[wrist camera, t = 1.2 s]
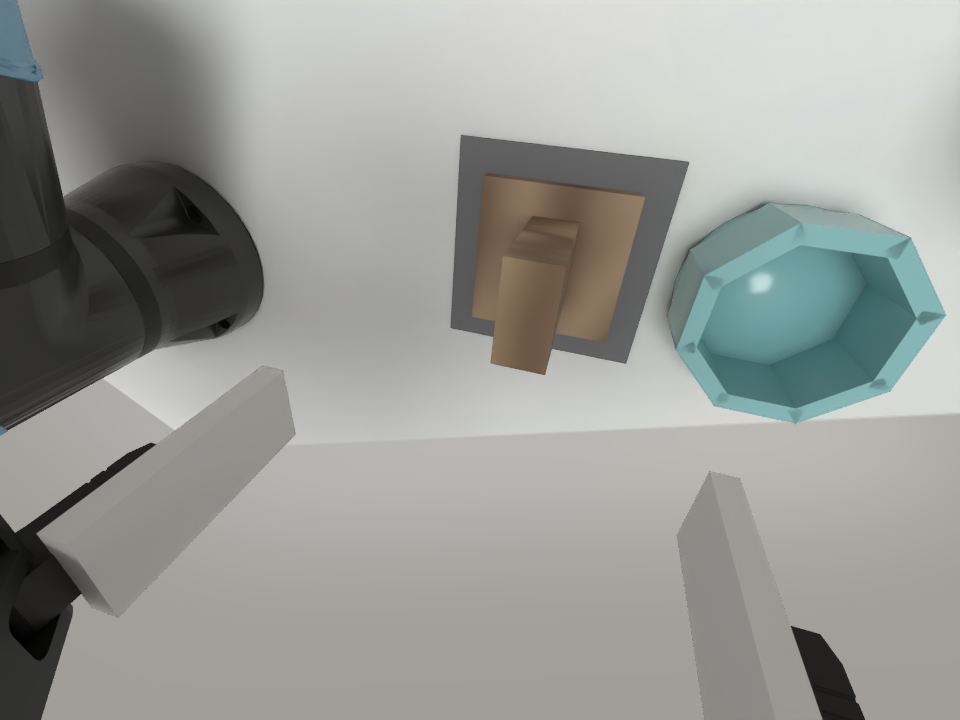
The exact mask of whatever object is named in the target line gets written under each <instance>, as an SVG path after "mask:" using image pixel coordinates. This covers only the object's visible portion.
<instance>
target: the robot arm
mask: <svg viewBox="0 0 960 720" xmlns="http://www.w3.org/2000/svg"><path fill="white" fill-rule="evenodd" d="M41 79H43V75H42V70H41V67H40V65H39V64H38V63H37V62H36V60H35V59H34V58H33V56H32V52H31V49H30V45H29V42H28V38H27V34H26V31H25V27H24V24H23V20H22V16H21V13H20V9H19V6H18V2H17V0H0V435H2V434H4V433H5V432H7V431H8V430H9V429H11V428H13V427H15V426H17V425H18V424H20V423H22V422H24V421H26V420H27V419H29V418H31V417H33V416H35V415H36V414H38V413H40V412H42V411H44V410H46V409H47V408H49V407H51V406H53V405H55V404H56V403H58V402H60V401H62V400H64V399H65V398H67V397H69V396H71V395H73V394H75V393H76V392H78V391H80V390H82V389H83V388H85V387H87V386H89V385H90V384H93V383H94V382H96V381H98V380H100V379H102V378H104V377H105V376H107V375H109V374H111V373H113V372H114V371H116V370H118V369H120V368H122V367H123V366H125V365H127V364H129V363H131V362H132V361H134V360H136V359H138V358H140V357H142V356H143V355H145V354H147V353H149V352H151V351H153V350H155V349H159V348H165V347H170V346H176V345H181V344H187V343H192V342H198V341H203V340H209V339H214V338H218V337H221V336H224V335H226V334H228V333H230V332H232V331H233V330H235V329H237V328H239V327H240V326H242V325H244V324H245V323H247V322H248V321H249V320H250V319H251V318H252V317H253V316H254V314H255V313H256V311H257V309H258V307H259V304H260V301H261V297H262V287H263V283H262V272H261V267H260V262H259V259H258V255H257V252H256V250H255V247H254V245H253V242H252V240H251V238H250V236H249V234H248V232H247V230H246V229H245V227H244V225H243V224H242V222H241V221H240V219H239V218H238V216H237V215H236V214H235V212H234V211H233V210H232V208H231V207H230V206H229V205H228V204H227V202H226V201H225V200H224V199H223V198H222V197H221V196H220V195H219V194H218V193H217V192H216V191H215V190H214V189H212V188H211V187H210V186H209V185H208V184H206V183H205V182H204V181H202V180H201V179H200V178H198V177H196V176H195V175H193V174H192V173H190V172H188V171H186V170H184V169H182V168H179V167H177V166H174V165H171V164H167V163H162V162H144V163H136V164H128V165H122V166H118V167H115V168H112V169H110V170H108V171H106V172H104V173H103V174H101V175H99V176H98V177H96V178H94V179H92V180H91V181H89V182H87V183H86V184H84V185H82V186H81V187H79V188H77V189H76V190H74V191H72V192H70V193H69V194H67V195H65V196H64V197H63V194H62V190H61V185H60V181H59V177H58V172H57V168H56V163H55V159H54V154H53V150H52V145H51V141H50V136H49V132H48V127H47V123H46V118H45V114H44V109H43V105H42V100H41V96H40V91H39V87H38V82H37V81H39V80H41ZM295 434H296V433H295V428H294V423H293V418H292V413H291V408H290V403H289V398H288V393H287V388H286V383H285V378H284V373H283V370H279V369H275V368H270V367H266V366H262V367H260V368H259V369H257V370H256V371H255V372H253V373H252V374H251V375H249V376H248V377H247V378H245V379H244V380H243V381H241V382H240V383H239V384H237V385H236V386H235V387H233V388H232V389H231V390H229V391H228V392H226V393H225V394H224V395H222V396H221V397H220V398H218V399H217V400H216V401H214V402H213V403H212V404H210V405H209V406H208V407H206V408H205V409H204V410H202V411H201V412H200V413H198V414H197V415H195V416H194V417H193V418H191V419H190V420H189V421H187V422H186V423H185V424H183V425H182V426H181V427H179V428H178V429H177V430H175V431H174V432H173V433H171V434H170V435H169V436H167V437H166V438H165V439H163V440H162V441H160V442H159V443H158V444H154V443H149V444H147V445H145V446H143V447H140V448H138V449H136V450H134V451H132V452H129V453H127V454H126V455H125V456H123V457H122V458H121V459H119V460H117V461H116V462H115V463H113V464H112V465H111V466H109V467H108V468H107V470H106V471H102V472H101V473H99V474H98V475H96V476H95V477H94V478H93V479H91V481H90V482H89V483H85V484H84V485H82V486H81V487H80V488H78V489H77V490H76V491H74V492H73V493H72V494H70V495H69V496H67V497H66V498H64V499H63V500H62V501H60V502H59V503H57V504H56V505H55V506H53V507H52V508H50V509H49V510H48V511H46V512H45V513H43V514H42V515H41V516H39V517H38V518H37V519H35V520H34V521H32V522H31V523H30V524H28V525H27V526H25V527H24V528H22V529H20V530H19V531H17V532H16V533H14V531H13V530H12V529H11V527H10V526H9V525H8V524H7V522H6V521H5V520H4V518H3V517H2V516H1V515H0V720H41V718H42V714H43V711H44V708H45V704H46V701H47V698H48V694H49V691H50V688H51V684H52V681H53V678H54V675H55V671H56V668H57V665H58V661H59V658H60V655H61V651H62V648H63V645H64V642H65V638H66V635H67V632H68V629H69V625H70V622H71V618H72V614H73V606H72V605H71V604H70V603H71V602H73V601H74V600H75V599H76V598H77V597H78V596H79V595H80V594H82V595H83V597H84V598H85V599H86V601H87V602H88V603H89V605H90V606H91V607H92V608H94V609H96V610H99V611H102V612H104V613H107V614H109V615H112V616H115V617H117V618H119V617H120V616H121V615H122V613H123V612H124V611H125V610H126V609H127V608H128V607H129V606H130V605H131V604H132V603H133V602H134V601H135V600H136V599H137V598H138V597H139V596H140V595H141V594H142V593H143V592H144V591H145V590H146V589H147V587H148V586H150V584H151V583H152V582H153V581H154V580H155V579H156V578H157V577H158V576H159V575H160V574H161V573H162V572H163V571H164V570H165V569H166V568H167V567H168V566H169V565H170V564H171V563H172V561H174V560H175V559H176V558H177V557H178V555H179V554H180V553H181V552H182V551H183V550H184V549H185V548H186V547H187V546H188V545H189V544H190V543H191V542H192V541H193V540H194V539H195V538H196V537H197V536H198V535H199V534H200V533H201V532H202V531H203V530H204V529H205V527H207V526H208V524H209V523H210V522H211V521H212V520H213V519H214V518H215V517H216V516H217V515H218V514H219V513H220V512H221V511H222V510H223V509H224V508H225V507H226V506H227V505H228V504H229V502H231V501H232V500H233V499H234V498H235V497H236V495H237V494H238V493H239V492H240V491H241V490H242V489H243V488H244V487H245V486H246V485H247V484H248V483H249V482H250V481H251V480H252V479H253V478H254V477H255V476H256V475H257V474H258V473H259V472H260V470H262V469H263V468H264V467H265V465H266V464H267V463H268V462H269V461H270V460H271V459H272V458H273V457H274V456H275V455H276V454H277V453H278V452H279V451H280V450H281V449H282V448H283V447H284V446H285V445H286V444H287V443H288V442H289V441H290V440H291V439H292V438H293V436H294V435H295ZM677 539H678V547H679V553H680V560H681V567H682V574H683V579H684V587H685V593H686V600H687V607H688V614H689V621H690V627H691V634H692V641H693V647H694V654H695V661H696V667H697V674H698V681H699V688H700V694H701V701H702V708H703V715H704V720H865V718H864V716H863V713H862V711H861V708H860V706H859V704H858V703H856V701H855V698H856V696H855V694H854V691H853V689H852V687H851V684H850V682H849V679H848V677H847V674H846V672H845V669H844V667H843V665H842V663H841V662H840V661H839V659H838V658H837V657H836V655H835V654H834V652H833V651H832V650H831V648H830V647H829V646H828V644H827V643H826V641H825V640H824V639H823V637H822V636H821V635H820V634H817V633H814V632H810V631H807V630H803V629H800V628H796V627H793V626H790V623H789V621H788V617H787V614H786V611H785V608H784V605H783V603H782V600H781V597H780V594H779V591H778V588H777V585H776V582H775V579H774V576H773V573H772V570H771V567H770V565H769V562H768V559H767V556H766V553H765V550H764V547H763V544H762V541H761V538H760V535H759V532H758V529H757V526H756V524H755V521H754V518H753V515H752V512H751V509H750V506H749V503H748V500H747V498H746V494H745V491H744V488H743V485H742V483H741V480H740V478H737V477H733V476H729V475H724V474H720V473H716V472H711V471H709V473H708V475H707V478H706V480H705V481H704V483H703V485H702V487H701V489H700V491H699V493H698V495H697V497H696V499H695V501H694V503H693V505H692V507H691V509H690V510H689V512H688V514H687V516H686V518H685V520H684V522H683V524H682V526H681V528H680V530H679V532H678V534H677Z"/></svg>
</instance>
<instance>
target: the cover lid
mask: <svg viewBox="0 0 960 720" xmlns="http://www.w3.org/2000/svg"><path fill="white" fill-rule="evenodd" d="M644 201H645V195H644V194H642V193H634V192H627V191H619V190H612V189H604V188H597V187H589V186H582V185H574V184H567V183H559V182H552V181H544V180H537V179H529V178H522V177H514V176H507V175H499V174H492V173H487V174H485V175H483V186H482V199H481V211H480V223H479V235H478V248H477V260H476V272H475V284H474V296H473V309H472V317H476V318H481V319H486V320H492V321H495V329H494V338H493V347H492V355H491V364H496V365H501V366H505V367H510V368H515V369H519V370H524V371H529V372H533V373H538V374H542V375H545V373H546V369H547V365H548V361H549V357H550V353H551V349H552V345H553V341H554V338H555V334H556V333H558V334H563V335H568V336H573V337H578V338H583V339H588V340H593V341H598V342H603V343H605V342H606V338H607V335H608V331H609V327H610V324H611V320H612V317H613V313H614V309H615V306H616V302H617V298H618V295H619V291H620V288H621V284H622V280H623V277H624V273H625V269H626V266H627V262H628V259H629V255H630V251H631V248H632V244H633V240H634V237H635V233H636V230H637V226H638V222H639V219H640V215H641V211H642V208H643V204H644Z"/></svg>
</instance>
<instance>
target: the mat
mask: <svg viewBox="0 0 960 720" xmlns="http://www.w3.org/2000/svg"><path fill="white" fill-rule="evenodd" d="M688 165H689V162H684V161H675V160H667V159H659V158H650V157H642V156H633V155H625V154H616V153H608V152H599V151H591V150H582V149H574V148H566V147H557V146H549V145H540V144H532V143H523V142H515V141H506V140H498V139H489V138H481V137H473V136H464V135H461V143H460V162H459V180H458V199H457V218H456V237H455V255H454V274H453V293H452V312H451V328H453V329H458V330H463V331H468V332H473V333H478V334H483V335H488V336H492V337H494V329H495V321H492V320H486V319H481V318H476V317H472V309H473V296H474V284H475V272H476V260H477V248H478V235H479V223H480V211H481V199H482V186H483V175H485V174H487V173H492V174H499V175H507V176H514V177H522V178H529V179H537V180H544V181H552V182H559V183H567V184H574V185H582V186H589V187H597V188H604V189H612V190H619V191H627V192H634V193H642V194H644V195H645V201H644V204H643V208H642V211H641V215H640V219H639V222H638V226H637V230H636V233H635V237H634V240H633V244H632V248H631V251H630V255H629V259H628V262H627V266H626V269H625V273H624V277H623V280H622V284H621V288H620V291H619V295H618V298H617V302H616V306H615V309H614V313H613V317H612V320H611V324H610V327H609V331H608V335H607V338H606V342H605V343H603V342H598V341H593V340H588V339H583V338H578V337H573V336H568V335H563V334H558V333H556V334H555V338H554V341H553V345H552V349H556V350H561V351H566V352H571V353H576V354H581V355H586V356H591V357H596V358H601V359H605V360H610V361H615V362H620V363H625V364H626V362H627V359H628V356H629V352H630V349H631V346H632V343H633V340H634V337H635V333H636V330H637V327H638V324H639V321H640V317H641V314H642V311H643V308H644V305H645V302H646V298H647V295H648V292H649V289H650V286H651V283H652V279H653V276H654V273H655V270H656V267H657V263H658V260H659V257H660V254H661V251H662V248H663V244H664V241H665V238H666V235H667V232H668V229H669V225H670V222H671V219H672V216H673V213H674V210H675V206H676V203H677V200H678V197H679V194H680V190H681V187H682V184H683V181H684V178H685V175H686V171H687V168H688Z"/></svg>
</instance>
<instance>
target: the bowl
mask: <svg viewBox="0 0 960 720" xmlns="http://www.w3.org/2000/svg"><path fill="white" fill-rule="evenodd" d="M945 316H946V314H945V312H944V309H943V307H942V305H941V303H940V301H939V298H938V296H937V294H936V292H935V290H934V287H933V285H932V283H931V281H930V279H929V276H928V274H927V272H926V270H925V268H924V265H923V263H922V261H921V259H920V257H919V254H918V252H917V250H916V248H915V246H914V243H913V241H912V239H911V237H909V236H906V235H904V234H902V233H900V232H897V231H895V230H893V229H891V228H888V227H886V226H884V225H881V224H879V223H877V222H875V221H872V220H870V219H868V218H866V217H863V216H861V215H859V214H850V213H842V212H835V211H827V210H824V209H821V208H818V207H813V206H808V205H795V204H789V205H781V204H773V203H768V204H766V205H765V206H763V207H761V208H759V209H757V210H753V211H750V212H747V213H745V214H742V215H740V216H737V217H735V218H733V219H731V220H730V221H728V222H726V223H724V224H722V225H721V226H719V227H718V228H716V229H715V230H713V231H712V232H711V233H710V234H709V235H707V236H706V237H705V238H704V239H703V240H702V241H701V242H700V243H699V244H698V245H697V246H695V247H693V248H692V249H690V251H689V254H688V257H687V258H686V260H685V262H684V263H683V265H682V267H681V269H680V271H679V273H678V276H677V278H676V281H675V285H674V289H673V297H672V303H671V305H670V308H669V311H668V314H667V317H668V321H669V325H670V329H671V333H672V337H673V341H674V345H675V349H676V351H677V352H678V354H679V355H680V357H681V358H682V359H683V361H684V362H685V364H686V365H687V367H688V368H689V370H690V371H691V373H692V374H693V376H694V377H695V379H696V380H697V382H698V383H699V385H700V386H701V388H702V389H703V391H704V392H705V393H706V395H707V396H708V398H709V399H710V401H711V402H712V404H713V406H716V407H721V408H726V409H730V410H735V411H740V412H744V413H749V414H754V415H759V416H763V417H768V418H773V419H777V420H782V421H787V422H791V423H795V424H796V423H799V422H802V421H804V420H807V419H810V418H813V417H816V416H819V415H822V414H825V413H828V412H831V411H834V410H837V409H840V408H843V407H846V406H849V405H852V404H855V403H858V402H860V401H863V400H866V399H869V398H872V397H875V396H878V395H881V394H884V393H887V392H890V391H891V389H892V388H893V387H894V385H895V384H896V383H897V381H898V380H899V378H900V377H901V376H902V374H903V373H904V372H905V370H906V369H907V368H908V366H909V365H910V364H911V362H912V361H913V359H914V358H915V357H916V355H917V354H918V353H919V351H920V350H921V349H922V347H923V346H924V344H925V343H926V342H927V340H928V339H929V338H930V336H931V335H932V334H933V332H934V331H935V329H936V328H937V327H938V325H939V324H940V323H941V321H942V320H943V319H944V317H945Z"/></svg>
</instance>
